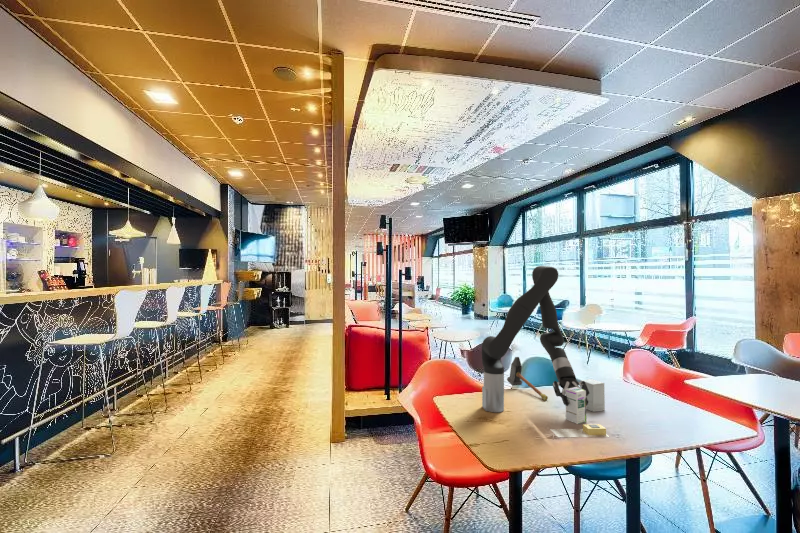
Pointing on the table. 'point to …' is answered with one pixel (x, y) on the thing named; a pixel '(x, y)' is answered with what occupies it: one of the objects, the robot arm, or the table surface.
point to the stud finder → (594, 429)
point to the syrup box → (576, 405)
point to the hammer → (521, 377)
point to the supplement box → (595, 395)
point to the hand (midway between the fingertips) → (576, 405)
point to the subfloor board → (573, 433)
